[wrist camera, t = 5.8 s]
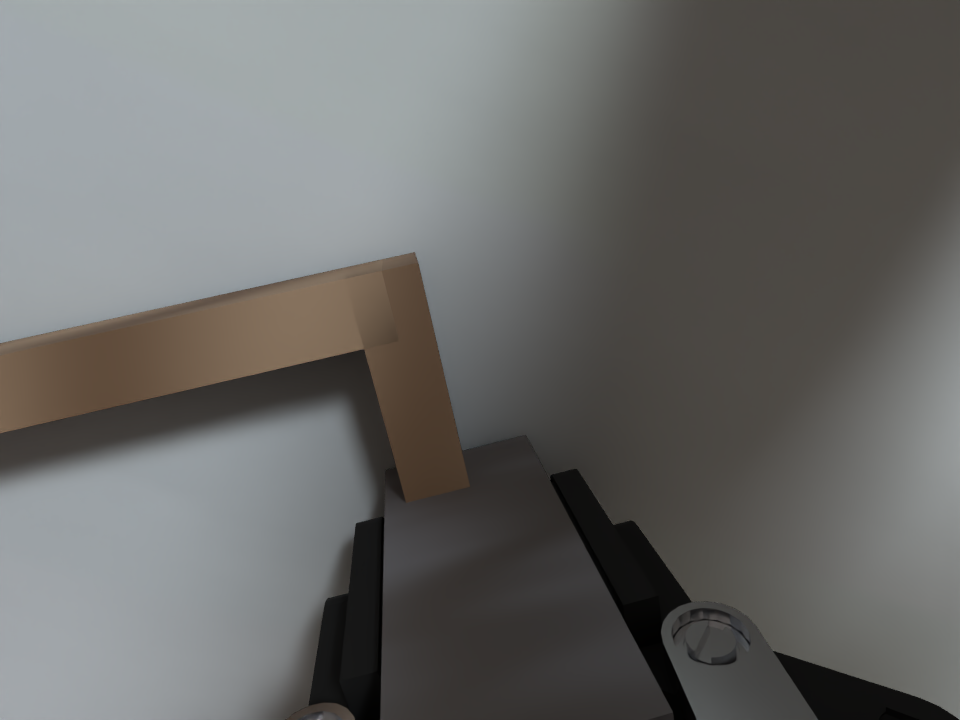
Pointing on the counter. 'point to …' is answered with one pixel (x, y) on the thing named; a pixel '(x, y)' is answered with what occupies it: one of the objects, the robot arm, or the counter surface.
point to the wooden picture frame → (390, 492)
